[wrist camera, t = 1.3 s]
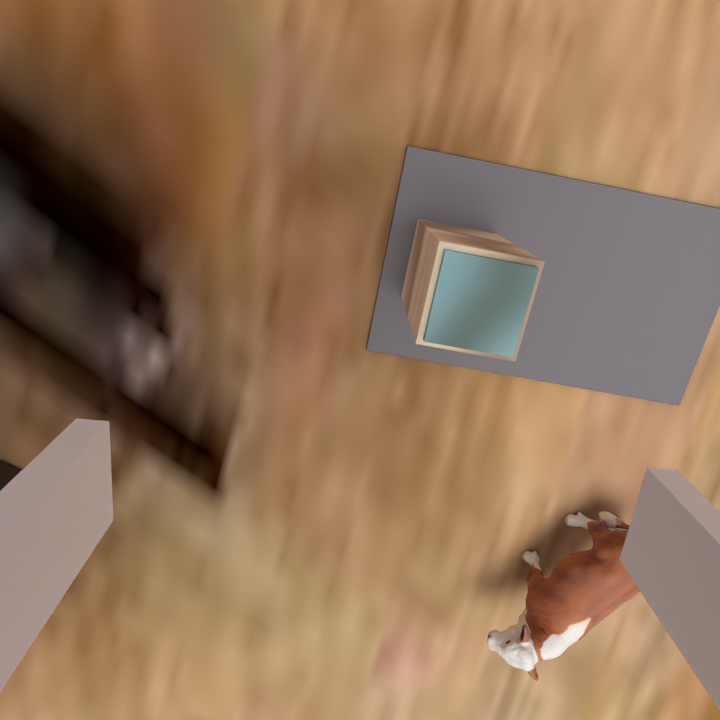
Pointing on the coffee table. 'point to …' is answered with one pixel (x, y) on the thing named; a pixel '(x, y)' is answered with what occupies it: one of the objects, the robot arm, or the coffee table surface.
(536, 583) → the bull figurine
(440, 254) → the beech block
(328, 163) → the coffee table surface
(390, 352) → the felt mat
